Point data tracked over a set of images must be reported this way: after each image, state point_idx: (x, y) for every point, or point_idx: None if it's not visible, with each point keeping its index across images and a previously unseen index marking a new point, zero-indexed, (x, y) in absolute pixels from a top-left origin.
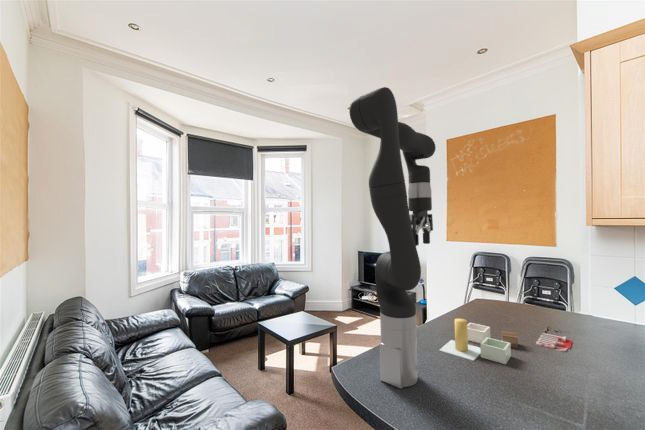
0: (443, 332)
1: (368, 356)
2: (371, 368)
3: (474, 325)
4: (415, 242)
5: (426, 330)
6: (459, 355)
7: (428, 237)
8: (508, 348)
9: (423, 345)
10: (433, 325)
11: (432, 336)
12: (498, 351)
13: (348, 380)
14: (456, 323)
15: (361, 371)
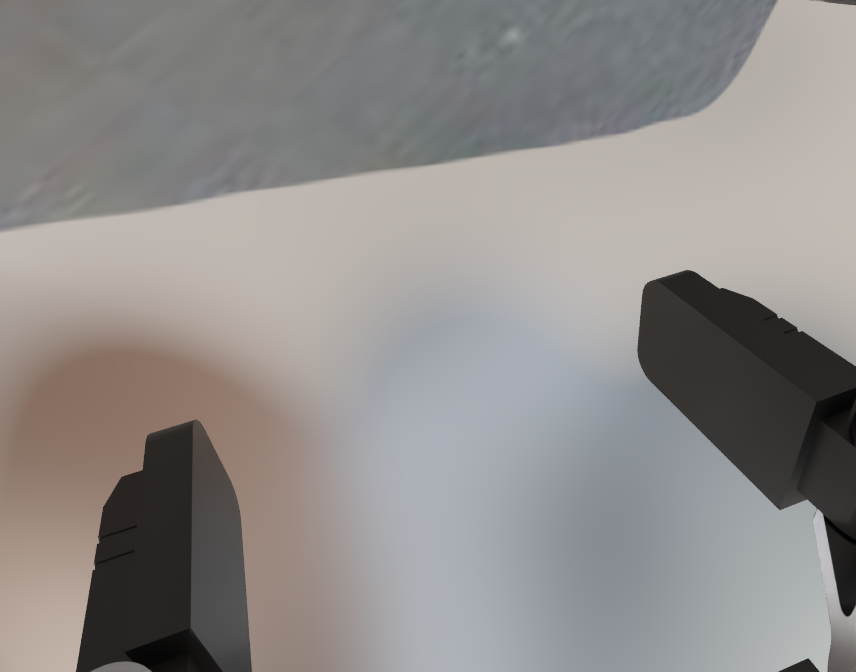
0: (35, 76)
1: (570, 117)
2: (637, 33)
3: None
4: (754, 300)
5: (119, 160)
6: None
7: (200, 524)
8: None
9: (300, 34)
10: (8, 189)
11: (156, 80)
12: None
13: (743, 24)
14: None
15: (674, 42)
